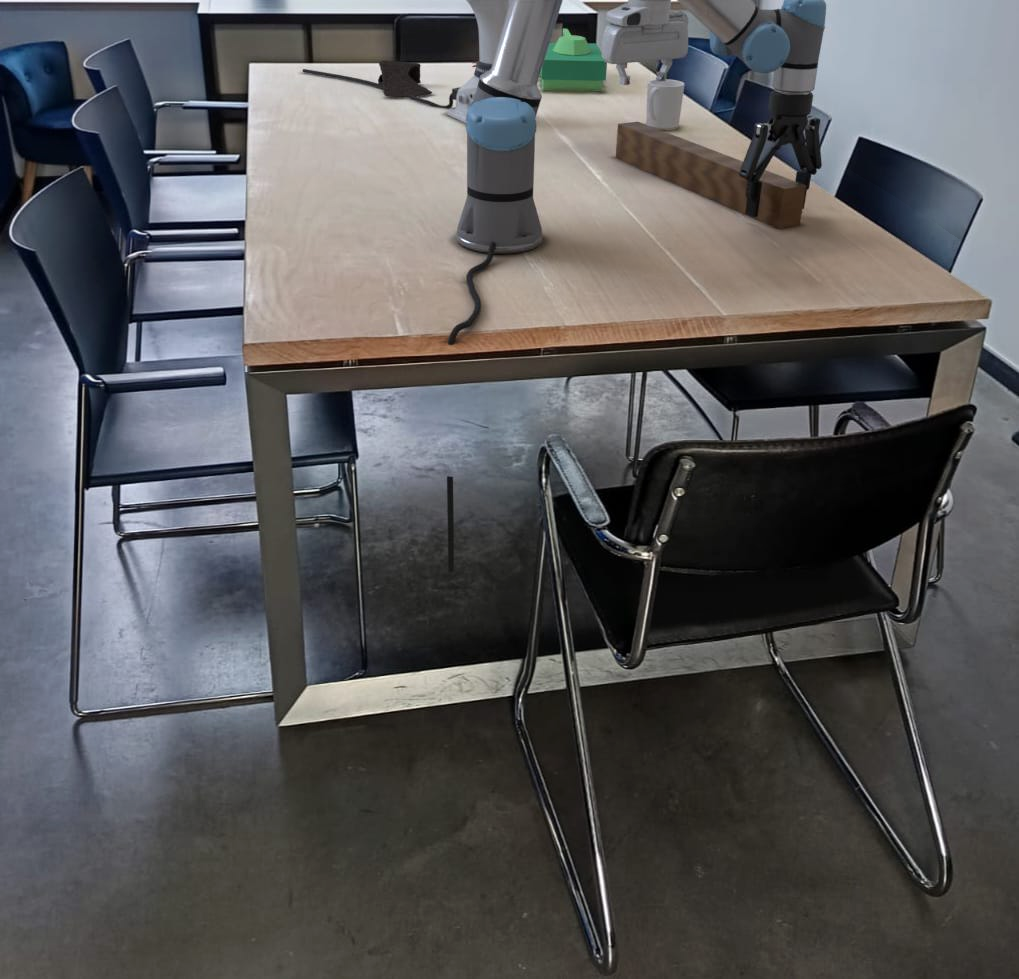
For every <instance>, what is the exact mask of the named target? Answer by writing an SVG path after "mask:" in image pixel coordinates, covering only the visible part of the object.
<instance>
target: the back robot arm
mask: <svg viewBox="0 0 1019 979" xmlns="http://www.w3.org/2000/svg"><path fill="white" fill-rule="evenodd" d="M466 2H467V3H468V4H469V6H470V7H471V9H472V11H473V14H474V16H475V20H476V23H477V29H478V51H479V52H478V54H479V55H478V56H479V58H478V60H477V61H473V62H471V64H473V65H471V67H472V68H474V73H473V76H472V77H470V79H469V80H468V81H467V82H465V83H464V84H462V86H460V87H455V88H451V93H449V97H448V101H449V102H448V104H447V105H440V104H438V103H436V102H433V101H431V100H429V99H424V98H421V97H416V96H413V95H411V94H408V93H405V94H406V96H407V97H408V98H407V99H411V100H412V101H416V102H417V103H418V102H419V103H421V104H424V105H428V106H429V107H434V108H440V109H446V115H447V116H449V117H452V118H454V119H456V120H458V121H460V122H462V123H464V124H466V117H467V112H468V109H469V107H470V106H471V104H472V102H473V100H474V96H475V93H476V89H477V86H478V82H479V79H480V76H481V75H482V74H484V73H486V72H487V71H489V70H490V69H491V68H492V64H493V61H494V57H495V54H496V50H497V47H498V43H499V39H500V36H501V32H502V29H503V25H504V22H505V18H506V15H507V11H508V8H509V4H510V1H509V0H466ZM671 4H672V0H628V1H626V2H625V3H623V4H621V5H619V6H618V7H617V6H616V7H615V8H613V9H611V10H608V11H607V12H606V14H605V15H606V16H605V20H606V23H608V24H607V26H605V28H604V31H603V35H602V42H601V52H602V53H601V55H602V58H603V60H604V62H606V63H607V64H609V65H615V68H616V71H617V73H618V75H619V85H621V86H629V85H630V84H631V76H630V75H628V74H627V71H626V69H628V64H631V63H640V62H642V63H643V62H652V61H653V62H654V61H661V64H662V65H661V67H660V69H659V71H656V73H655V75H656V77H655V79H656V80H657V81H659V82H662V81H666V79H667V75H668V73H669V70H670V69H671V67H672V66H673V60H677V59H684V58H685V57H686V56H687V55H688V53H689V52H688V51H689V30H688V29H689V17H688V15H687V14H686V13H685V12H684V11H682V10H680V11H671V7H672V6H671ZM302 73H305V74H312V75H316V76H321V77H328V78H334V79H339V80H345V81H350V82H355V83H359V84H365V85H368V86H372V87H376V88H379V89H382V90H384V89H383V88H382V86H381V84H378V82H375V81H370V80H366V79H362V78H357V77H352V76H347V75H344V74H343V75H342V74H337V73H331V72H325V71H318V70H313V69H307V68H303V69H302ZM454 101H455V106H454ZM453 106H454V107H453Z"/></svg>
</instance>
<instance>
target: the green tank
mask: <svg viewBox="0 0 1019 979" xmlns="http://www.w3.org/2000/svg"><path fill="white" fill-rule="evenodd" d="M601 53H602V50H601V49H600V48H599V46H598V44H597V43H590V42H589V43H588V41H587V38H586V37H584V36H581V35H575V34H574V35H572V34H571V33H570V31H569V29H568V28H562V35H561V36H560V37H559V38H558V40H557V41H556V42H550V43H549V47H548V50H547V53H546V56H545V60H544V63H543V66H542V69H541V73H540V76H539V77H540V80H541V86H542V87H541V89H542V91H574V92H576V91H581V92H602V90H603V85H604V83H603V82H606V81H607V71H608V68H607V67H608V63H606V62H604V60H603V58H602V55H601Z"/></svg>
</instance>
